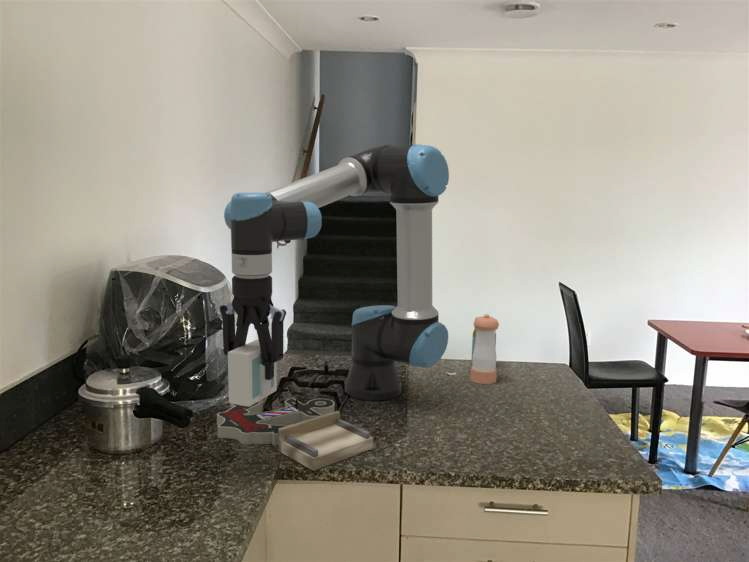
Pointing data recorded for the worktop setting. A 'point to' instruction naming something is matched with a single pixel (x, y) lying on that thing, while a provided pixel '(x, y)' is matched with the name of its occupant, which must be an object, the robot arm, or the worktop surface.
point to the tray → (323, 441)
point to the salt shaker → (484, 351)
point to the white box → (246, 374)
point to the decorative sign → (267, 420)
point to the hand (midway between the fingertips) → (253, 392)
